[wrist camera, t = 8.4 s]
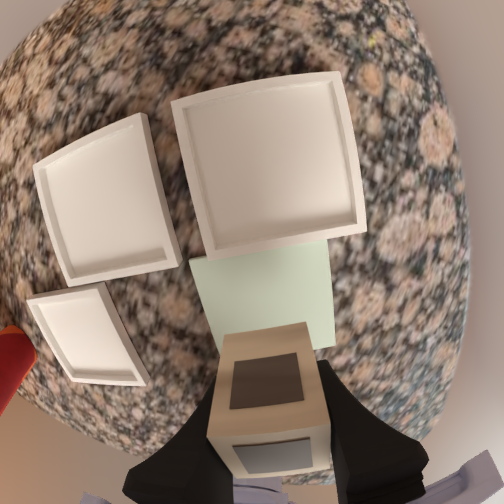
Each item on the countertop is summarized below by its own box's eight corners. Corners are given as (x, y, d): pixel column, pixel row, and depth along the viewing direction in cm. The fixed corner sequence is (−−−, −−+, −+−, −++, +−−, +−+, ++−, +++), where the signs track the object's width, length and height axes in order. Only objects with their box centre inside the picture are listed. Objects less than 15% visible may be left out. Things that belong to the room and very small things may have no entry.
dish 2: (150, 377, 22) (146, 385, 21) (76, 374, 23) (71, 381, 22) (104, 281, 19) (97, 288, 18) (33, 294, 20) (26, 300, 19)
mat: (334, 342, 20) (335, 345, 20) (223, 360, 21) (222, 363, 21) (324, 233, 17) (326, 234, 17) (189, 258, 18) (188, 260, 18)
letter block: (312, 377, 14) (330, 469, 8) (242, 387, 14) (236, 480, 9) (305, 320, 13) (331, 423, 7) (223, 333, 13) (205, 437, 7)
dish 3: (360, 226, 17) (366, 231, 16) (211, 254, 18) (208, 261, 17) (334, 76, 14) (339, 70, 13) (176, 104, 15) (170, 101, 14)
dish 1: (183, 259, 18) (178, 266, 17) (76, 280, 19) (68, 287, 18) (147, 114, 15) (140, 112, 14) (42, 164, 16) (32, 165, 15)
